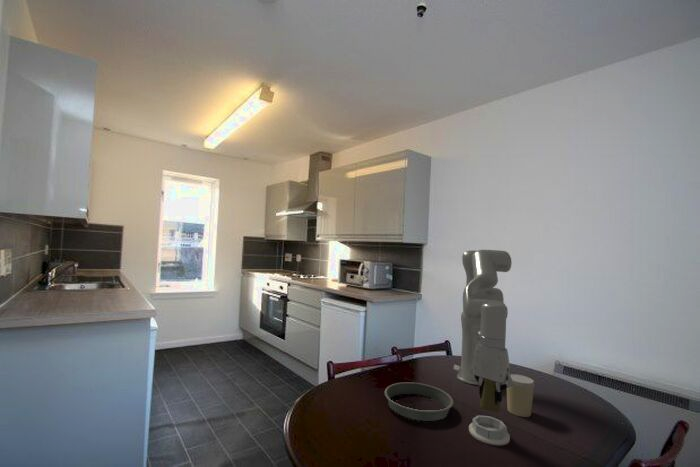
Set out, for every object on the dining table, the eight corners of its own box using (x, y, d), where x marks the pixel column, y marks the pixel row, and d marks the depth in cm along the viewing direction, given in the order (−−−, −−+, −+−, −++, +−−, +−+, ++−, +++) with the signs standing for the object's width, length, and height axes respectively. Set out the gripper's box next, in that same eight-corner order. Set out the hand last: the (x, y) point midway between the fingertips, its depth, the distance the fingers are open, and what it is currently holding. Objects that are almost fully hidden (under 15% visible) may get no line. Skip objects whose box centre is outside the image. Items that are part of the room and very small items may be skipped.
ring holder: (461, 432, 106) (462, 421, 106) (479, 420, 114) (479, 410, 114) (500, 450, 97) (500, 438, 98) (516, 436, 106) (516, 425, 106)
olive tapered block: (502, 413, 103) (503, 376, 103) (481, 410, 104) (483, 374, 104) (497, 404, 108) (499, 370, 109) (478, 401, 110) (479, 367, 110)
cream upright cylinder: (530, 408, 126) (531, 376, 126) (535, 420, 117) (536, 385, 118) (503, 403, 129) (504, 372, 129) (506, 414, 120) (507, 380, 121)
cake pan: (464, 409, 123) (465, 397, 123) (430, 433, 105) (431, 419, 105) (407, 387, 139) (408, 376, 140) (370, 405, 121) (371, 392, 122)
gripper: (462, 337, 111) (460, 394, 110) (515, 350, 99) (512, 414, 98) (473, 334, 116) (471, 388, 115) (524, 347, 104) (522, 407, 103)
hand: (490, 400), depth 106 cm, fingers closed on olive tapered block, 3 cm apart
